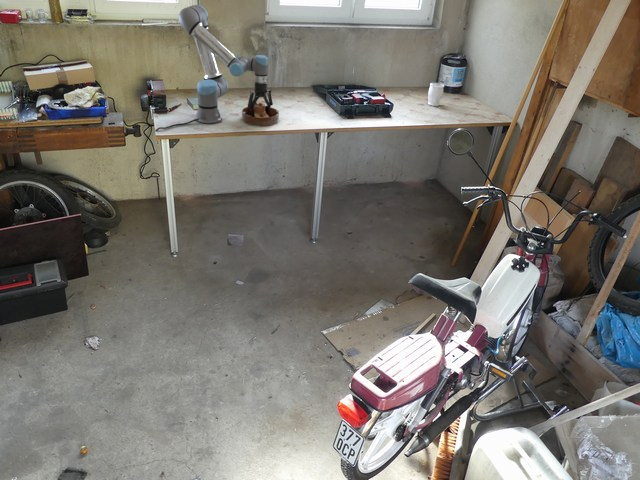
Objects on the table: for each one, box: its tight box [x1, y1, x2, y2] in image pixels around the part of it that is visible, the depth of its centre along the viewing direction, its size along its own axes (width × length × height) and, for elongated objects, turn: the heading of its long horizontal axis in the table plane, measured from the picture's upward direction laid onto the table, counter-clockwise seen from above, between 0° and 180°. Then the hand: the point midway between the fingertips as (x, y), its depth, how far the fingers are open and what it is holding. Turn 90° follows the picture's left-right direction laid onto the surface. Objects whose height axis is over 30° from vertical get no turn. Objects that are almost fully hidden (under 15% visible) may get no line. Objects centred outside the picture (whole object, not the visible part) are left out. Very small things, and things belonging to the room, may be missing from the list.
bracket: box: [254, 101, 269, 118], centre depth 334 cm, size 18×8×7 cm, turn 19°
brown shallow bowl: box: [241, 105, 280, 127], centre depth 335 cm, size 23×23×6 cm
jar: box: [427, 82, 445, 107], centre depth 391 cm, size 11×10×15 cm
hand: (259, 117), depth 336 cm, fingers closed on bracket, 9 cm apart
